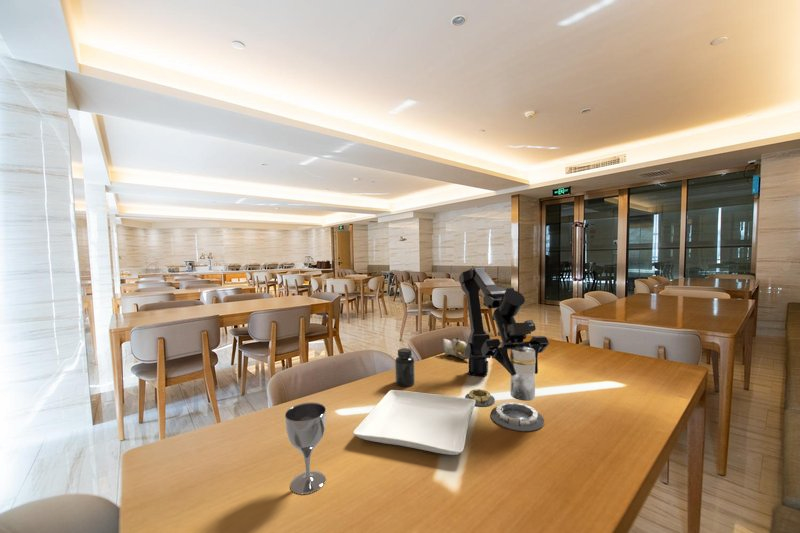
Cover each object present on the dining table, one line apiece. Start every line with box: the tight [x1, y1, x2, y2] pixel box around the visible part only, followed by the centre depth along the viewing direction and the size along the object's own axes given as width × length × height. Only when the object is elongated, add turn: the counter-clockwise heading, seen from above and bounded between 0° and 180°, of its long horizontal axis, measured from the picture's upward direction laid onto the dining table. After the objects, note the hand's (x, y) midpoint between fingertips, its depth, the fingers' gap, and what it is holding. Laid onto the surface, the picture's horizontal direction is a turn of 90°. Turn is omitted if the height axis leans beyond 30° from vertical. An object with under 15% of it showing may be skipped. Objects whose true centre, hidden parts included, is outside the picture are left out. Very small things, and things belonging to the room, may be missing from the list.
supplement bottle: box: [394, 347, 416, 388], centre depth 119 cm, size 7×7×12 cm
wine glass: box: [284, 402, 327, 495], centre depth 69 cm, size 8×8×15 cm
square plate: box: [352, 389, 476, 456], centre depth 90 cm, size 27×27×4 cm
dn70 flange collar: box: [490, 401, 545, 433], centre depth 93 cm, size 14×14×2 cm
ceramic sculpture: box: [442, 337, 469, 360], centre depth 147 cm, size 11×9×15 cm
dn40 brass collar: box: [464, 388, 495, 407], centre depth 105 cm, size 9×9×2 cm
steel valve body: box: [509, 346, 536, 402], centre depth 93 cm, size 7×7×13 cm
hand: (525, 374), depth 92 cm, fingers closed on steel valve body, 6 cm apart
